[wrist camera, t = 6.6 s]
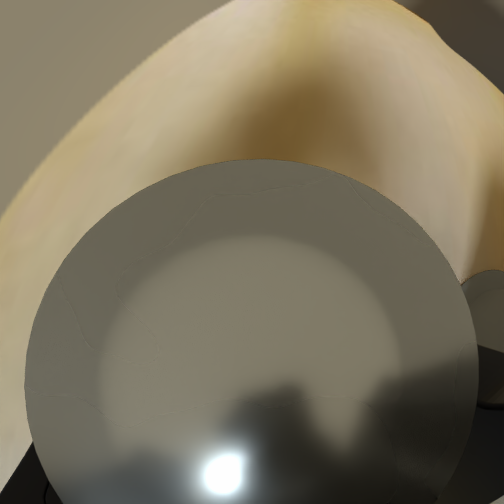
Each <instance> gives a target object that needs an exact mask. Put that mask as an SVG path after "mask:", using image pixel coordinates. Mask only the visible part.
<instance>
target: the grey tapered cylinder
mask: <svg viewBox="0 0 504 504" xmlns="http://www.w3.org/2000/svg"><path fill="white" fill-rule="evenodd" d="M461 288H462V290H463V293H464V296H465V298H466V301H467V304H468V306H469V309H470V313H471V317H472V321H473V325H474V329H475V334H476V341H477V344H479V345H482V346H485V347H488V348H491V349H494V350H497V351H501V352H504V272H503V271H499V270H488V271H484V272H481V273H478V274H476V275H474V276H473V277H471V278H470V279H468V280H467V281H466V282H465V283H463V284H462V285H461Z"/></svg>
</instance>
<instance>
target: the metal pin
mask: <svg viewBox="0 0 504 504" xmlns="http://www.w3.org/2000/svg"><path fill="white" fill-rule="evenodd" d="M478 384H479V359H478V349H477V341H476V334H475V329H474V325H473V321H472V317H471V313H470V309H469V306H468V304H467V301H466V298H465V296H464V293H463V290H462V288H461V285H460V283H459V281H458V279H457V278H456V276H455V274H454V272H453V270H452V268H451V266H450V264H449V263H448V261H447V260H446V258H445V257H444V255H443V254H442V252H441V251H440V249H439V248H438V246H437V245H436V244H435V242H434V241H433V240H432V239H431V238H430V237H429V235H428V234H427V233H426V232H425V231H424V230H423V229H422V227H421V226H420V225H419V224H418V223H417V222H416V221H415V220H414V219H412V218H411V217H410V216H409V215H408V214H407V213H406V212H405V211H403V210H402V209H401V208H400V207H399V206H398V205H396V204H395V203H393V202H392V201H390V200H389V199H387V198H386V197H385V196H383V195H382V194H380V193H379V192H377V191H376V190H374V189H372V188H370V187H368V186H366V185H364V184H362V183H360V182H358V181H356V180H354V179H352V178H350V177H347V176H345V175H342V174H339V173H336V172H334V171H331V170H328V169H325V168H322V167H317V166H313V165H308V164H304V163H299V162H294V161H283V160H271V159H251V160H233V161H227V162H221V163H215V164H210V165H205V166H200V167H197V168H194V169H191V170H188V171H184V172H181V173H178V174H175V175H172V176H170V177H167V178H165V179H163V180H161V181H159V182H157V183H155V184H153V185H151V186H149V187H147V188H145V189H143V190H141V191H139V192H137V193H136V194H134V195H133V196H131V197H130V198H128V199H127V200H125V201H124V202H122V203H121V204H119V205H118V206H116V207H115V208H114V209H112V210H111V211H110V212H109V213H107V214H106V215H105V216H104V217H103V218H102V219H101V220H100V221H98V222H97V223H96V224H95V225H94V226H93V227H92V228H91V229H90V230H89V231H88V232H87V233H86V234H85V235H84V236H83V237H82V238H81V239H80V241H79V242H78V243H77V244H76V246H75V247H74V248H73V249H72V250H71V252H70V253H69V254H68V255H67V257H66V258H65V259H64V261H63V262H62V264H61V265H60V267H59V269H58V270H57V272H56V274H55V275H54V277H53V279H52V281H51V282H50V284H49V286H48V288H47V289H46V292H45V294H44V296H43V299H42V301H41V304H40V306H39V309H38V311H37V314H36V317H35V319H34V323H33V327H32V331H31V335H30V340H29V344H28V349H27V354H26V366H25V385H24V388H25V400H26V410H27V419H28V423H29V427H30V431H31V435H32V439H33V443H34V446H35V450H36V453H37V455H38V457H39V460H40V462H41V464H42V467H43V469H44V471H45V473H46V476H47V478H48V480H49V482H50V483H51V485H52V487H53V488H54V490H55V491H56V493H57V495H58V496H59V498H60V499H61V501H62V502H63V504H434V503H435V502H436V500H437V499H438V497H439V496H440V494H441V493H442V491H443V490H444V488H445V487H446V485H447V483H448V482H449V480H450V479H451V477H452V475H453V473H454V471H455V469H456V467H457V465H458V463H459V460H460V458H461V456H462V454H463V451H464V448H465V446H466V443H467V440H468V437H469V434H470V431H471V427H472V423H473V418H474V414H475V409H476V403H477V394H478Z"/></svg>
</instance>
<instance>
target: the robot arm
mask: <svg viewBox="0 0 504 504" xmlns="http://www.w3.org/2000/svg"><path fill="white" fill-rule="evenodd" d="M477 349H478V359H479V384H478V394H477V403H476V409H475V414H474V418H473V423H472V427H471V431H470V434H469V437H468V440H467V443H466V446H465V448H464V451H463V454H462V456H461V458H460V460H459V463H458V465H457V467H456V469H455V471H454V473H453V475H452V477H451V479H450V480H449V482H448V483H447V485H446V487H445V488H444V490H443V491H442V493H441V494H440V496H439V497H438V499H437V500H436V502H435V503H434V504H504V352H501V351H497V350H494V349H491V348H488V347H485V346H482V345H479V344H477ZM0 504H63V502H62V501H61V499H60V498H59V496H58V495H57V493H56V491H55V490H54V488H53V487H52V485H51V483H50V482H49V480H48V478H47V476H46V473H45V471H44V469H43V467H42V464H41V462H40V460H39V457H38V455H37V453H36V450H35V446H34V443H33V442H32V443H31V445H30V447H29V449H28V450H27V452H26V454H25V456H24V457H23V459H22V460H21V462H20V463H19V465H18V466H17V468H16V470H15V471H14V473H13V474H12V476H11V477H10V479H9V480H8V482H7V484H6V485H5V487H4V488H3V490H2V491H1V493H0Z"/></svg>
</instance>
